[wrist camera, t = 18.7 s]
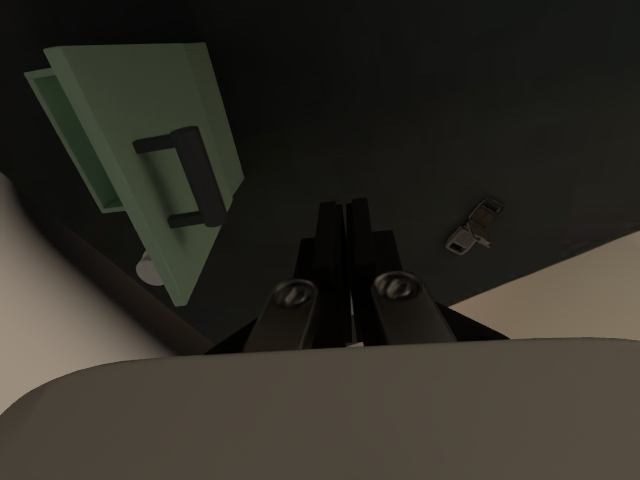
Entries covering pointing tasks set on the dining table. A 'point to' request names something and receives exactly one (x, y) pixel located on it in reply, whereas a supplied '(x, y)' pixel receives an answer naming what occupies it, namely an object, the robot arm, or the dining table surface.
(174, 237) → the lunchbox lid
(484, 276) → the dining table surface
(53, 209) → the dining table surface
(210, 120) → the box
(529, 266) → the dining table surface
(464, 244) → the strap clip
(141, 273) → the pill bottle
